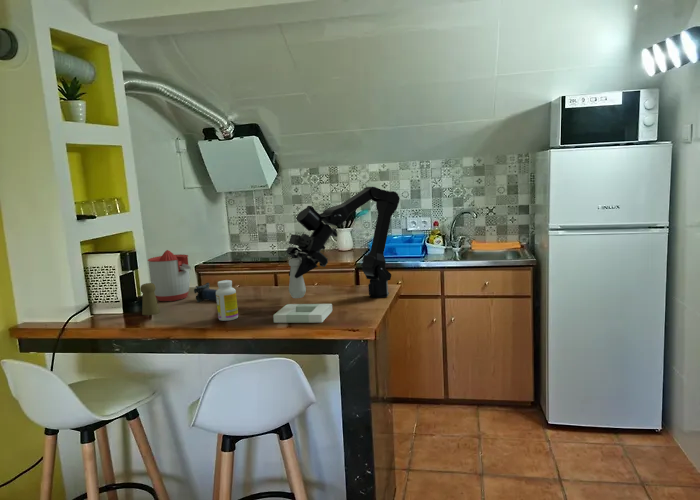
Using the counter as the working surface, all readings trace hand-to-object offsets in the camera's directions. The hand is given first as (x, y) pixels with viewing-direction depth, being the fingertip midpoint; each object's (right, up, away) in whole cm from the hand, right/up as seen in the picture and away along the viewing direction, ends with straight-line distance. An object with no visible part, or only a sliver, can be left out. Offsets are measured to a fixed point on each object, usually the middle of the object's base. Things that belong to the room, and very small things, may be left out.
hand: (292, 276), depth 182 cm
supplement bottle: (-22, -14, +3) cm, 27 cm away
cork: (-54, -14, +18) cm, 58 cm away
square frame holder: (+4, -13, 0) cm, 14 cm away
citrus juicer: (-52, -11, +40) cm, 67 cm away
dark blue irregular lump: (-34, -11, +32) cm, 48 cm away
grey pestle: (+2, -7, +2) cm, 7 cm away
